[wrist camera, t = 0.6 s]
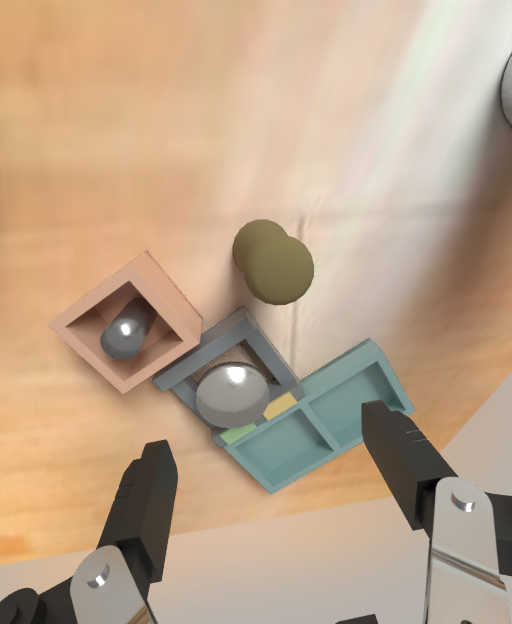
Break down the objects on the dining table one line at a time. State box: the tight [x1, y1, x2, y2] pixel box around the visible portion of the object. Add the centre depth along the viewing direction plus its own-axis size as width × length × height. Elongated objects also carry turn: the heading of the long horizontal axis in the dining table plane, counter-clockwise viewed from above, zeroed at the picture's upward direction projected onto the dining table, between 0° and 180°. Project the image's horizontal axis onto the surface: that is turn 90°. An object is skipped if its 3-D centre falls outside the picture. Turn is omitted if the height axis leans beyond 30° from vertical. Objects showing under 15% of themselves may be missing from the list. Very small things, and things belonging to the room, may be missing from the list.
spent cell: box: [100, 297, 157, 360], centre depth 27 cm, size 3×3×7 cm
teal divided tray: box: [223, 338, 415, 494], centre depth 38 cm, size 22×11×3 cm, turn 124°
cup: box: [47, 251, 203, 394], centre depth 29 cm, size 9×9×6 cm
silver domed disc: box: [196, 362, 269, 428], centre depth 32 cm, size 8×8×4 cm
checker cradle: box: [152, 306, 306, 448], centre depth 34 cm, size 12×12×4 cm
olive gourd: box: [233, 220, 314, 305], centre depth 25 cm, size 6×6×11 cm
